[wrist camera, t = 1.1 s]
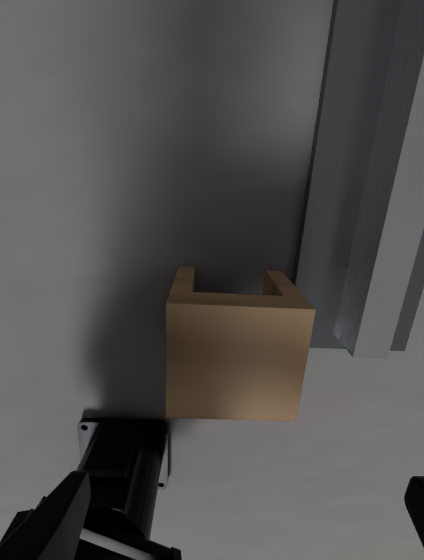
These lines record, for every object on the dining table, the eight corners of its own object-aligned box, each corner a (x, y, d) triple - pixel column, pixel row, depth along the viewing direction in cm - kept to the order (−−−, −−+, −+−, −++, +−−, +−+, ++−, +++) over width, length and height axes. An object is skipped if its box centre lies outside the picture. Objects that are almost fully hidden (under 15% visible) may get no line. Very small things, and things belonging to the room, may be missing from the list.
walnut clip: (270, 353, 20) (295, 421, 14) (177, 350, 20) (165, 417, 14) (281, 270, 18) (315, 309, 12) (179, 265, 18) (165, 303, 12)
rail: (398, 346, 20) (433, 375, 17) (283, 341, 20) (298, 370, 16) (521, -81, 13) (617, -163, 10) (347, -96, 13) (392, -185, 10)
